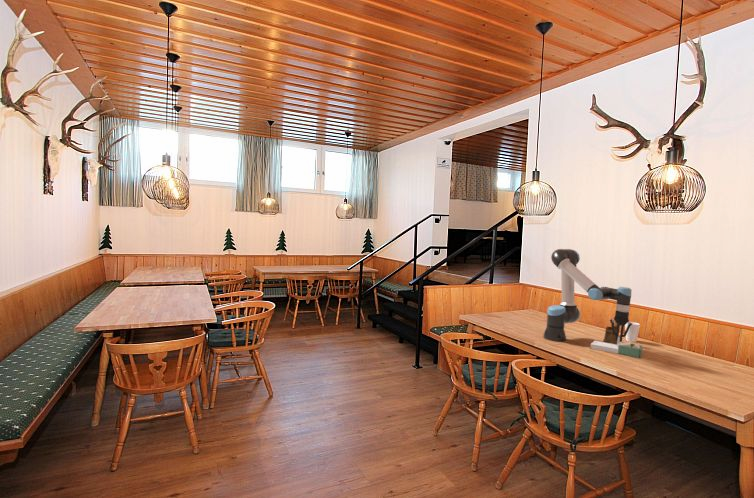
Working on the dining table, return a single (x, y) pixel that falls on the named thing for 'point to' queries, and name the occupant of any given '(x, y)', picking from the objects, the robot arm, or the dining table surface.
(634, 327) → the foam cup
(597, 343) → the board
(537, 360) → the dining table surface
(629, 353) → the box
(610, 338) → the wooden mug
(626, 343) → the tile
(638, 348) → the tile
